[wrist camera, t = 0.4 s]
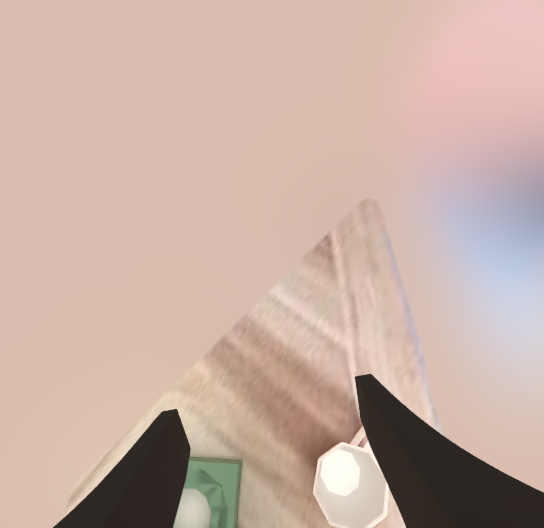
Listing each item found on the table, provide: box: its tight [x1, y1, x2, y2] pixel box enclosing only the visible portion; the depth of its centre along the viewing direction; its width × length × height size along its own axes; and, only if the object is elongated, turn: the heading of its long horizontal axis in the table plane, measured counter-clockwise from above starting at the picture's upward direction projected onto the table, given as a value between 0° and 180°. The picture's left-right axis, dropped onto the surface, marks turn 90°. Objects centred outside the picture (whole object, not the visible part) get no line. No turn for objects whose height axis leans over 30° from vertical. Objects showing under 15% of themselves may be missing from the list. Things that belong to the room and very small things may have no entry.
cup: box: [313, 426, 389, 528], centre depth 31 cm, size 7×10×8 cm
